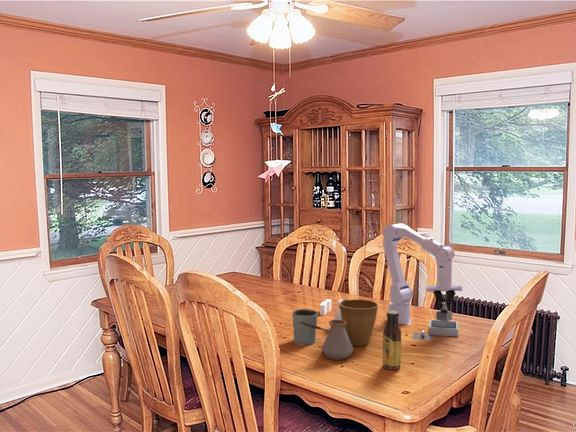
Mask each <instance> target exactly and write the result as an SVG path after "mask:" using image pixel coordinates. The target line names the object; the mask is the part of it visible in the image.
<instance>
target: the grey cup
mask: <svg viewBox="0 0 576 432" xmlns="http://www.w3.org/2000/svg"><path fill="white" fill-rule="evenodd" d="M291 314H292V316H291V317H292V327H293V342H294V343H295V344H296V345H300V346H309V345H313V344H315V343H316V337H317V336H316V335H317V329H315V328H311V327H309V326H305V325H304V324H302V326H301V323H300V322H304V323H306V322H307V323H308V324H313V325H316V326H318V315H319V313H318V311H317V310H314V309H310V308H301V309H300V308H299V309H296V310H293V311H292V313H291ZM298 325H299V326H298Z"/></svg>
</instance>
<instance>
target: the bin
mask: <svg viewBox="0 0 576 432" xmlns="http://www.w3.org/2000/svg"><path fill="white" fill-rule="evenodd" d="M428 327H429V330H428V332H429V333H428V334H433V336H434V335H435V336H446V337H458V336H459V323H458V321H456V320H449V321H447V322H446V321H440V320H436V319H430V320H429V326H428Z"/></svg>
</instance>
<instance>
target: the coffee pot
mask: <svg viewBox="0 0 576 432" xmlns="http://www.w3.org/2000/svg"><path fill="white" fill-rule="evenodd" d="M300 323H301V326H302V324H304V325H305V326H309V327H311V328H315V329H316V330H321V331H324V332H327V336H326V338H325V340H324V342H323V344H322V347H321V350H322V352H323V353H324V354H325V356H326V357H327V358H328V359H331V360H336V361H341V360H347V359H348V358H349V357H350V356H351V355H352V354H353V352H354V346H353V345H352V344H351V342H350V339H349V337H348V335H347V332H346V330H345V324H346V321H344V320H335V319H331V320H329V321H328V324H329V326H330V329H329V328H324V327H321V326H318V325H313V324H308V323H307V322H306V323H304V322H300ZM298 326H299V325H298Z"/></svg>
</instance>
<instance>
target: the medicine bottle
mask: <svg viewBox="0 0 576 432" xmlns="http://www.w3.org/2000/svg"><path fill="white" fill-rule="evenodd" d="M345 300H348V299H347V298H345V299H343V298H342V299H339V300H337V310H336V311H335V312H334V320H342V317H341V311H340V302H342V301H345Z"/></svg>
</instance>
